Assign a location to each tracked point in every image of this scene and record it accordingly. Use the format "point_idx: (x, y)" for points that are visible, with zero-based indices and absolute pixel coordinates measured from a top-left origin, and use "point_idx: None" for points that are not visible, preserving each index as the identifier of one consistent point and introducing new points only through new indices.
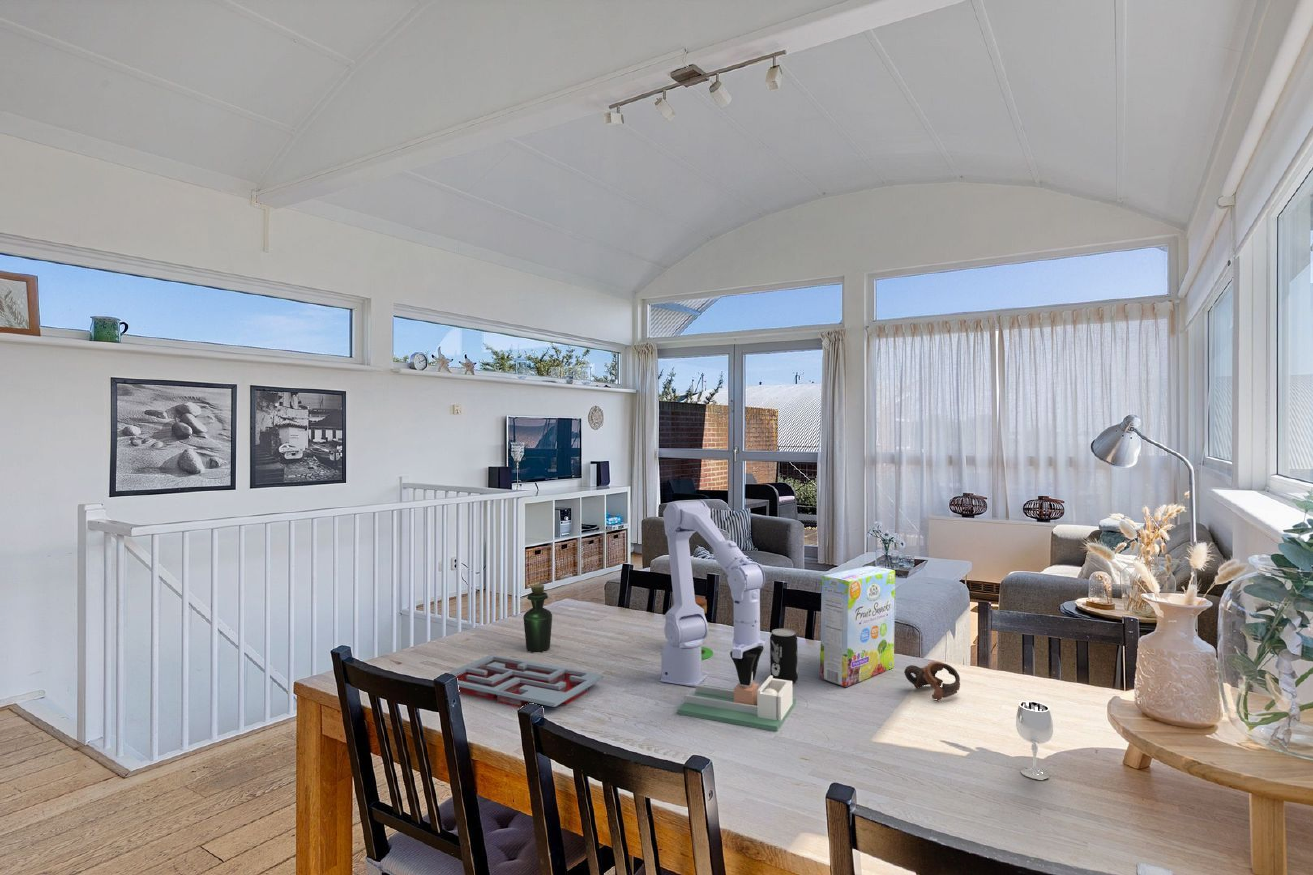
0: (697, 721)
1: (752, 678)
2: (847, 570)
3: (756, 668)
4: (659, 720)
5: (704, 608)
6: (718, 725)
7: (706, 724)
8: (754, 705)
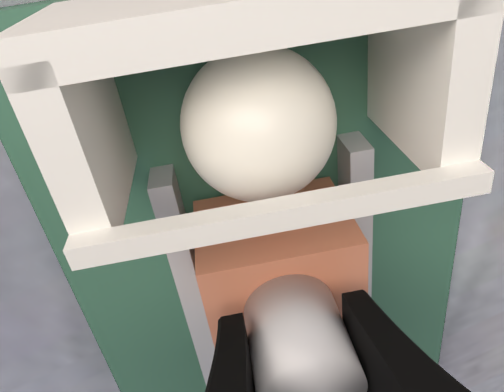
0: (468, 301)
1: (299, 322)
2: None
3: (228, 385)
4: (495, 381)
5: None
6: (484, 227)
7: (487, 265)
8: (352, 172)
